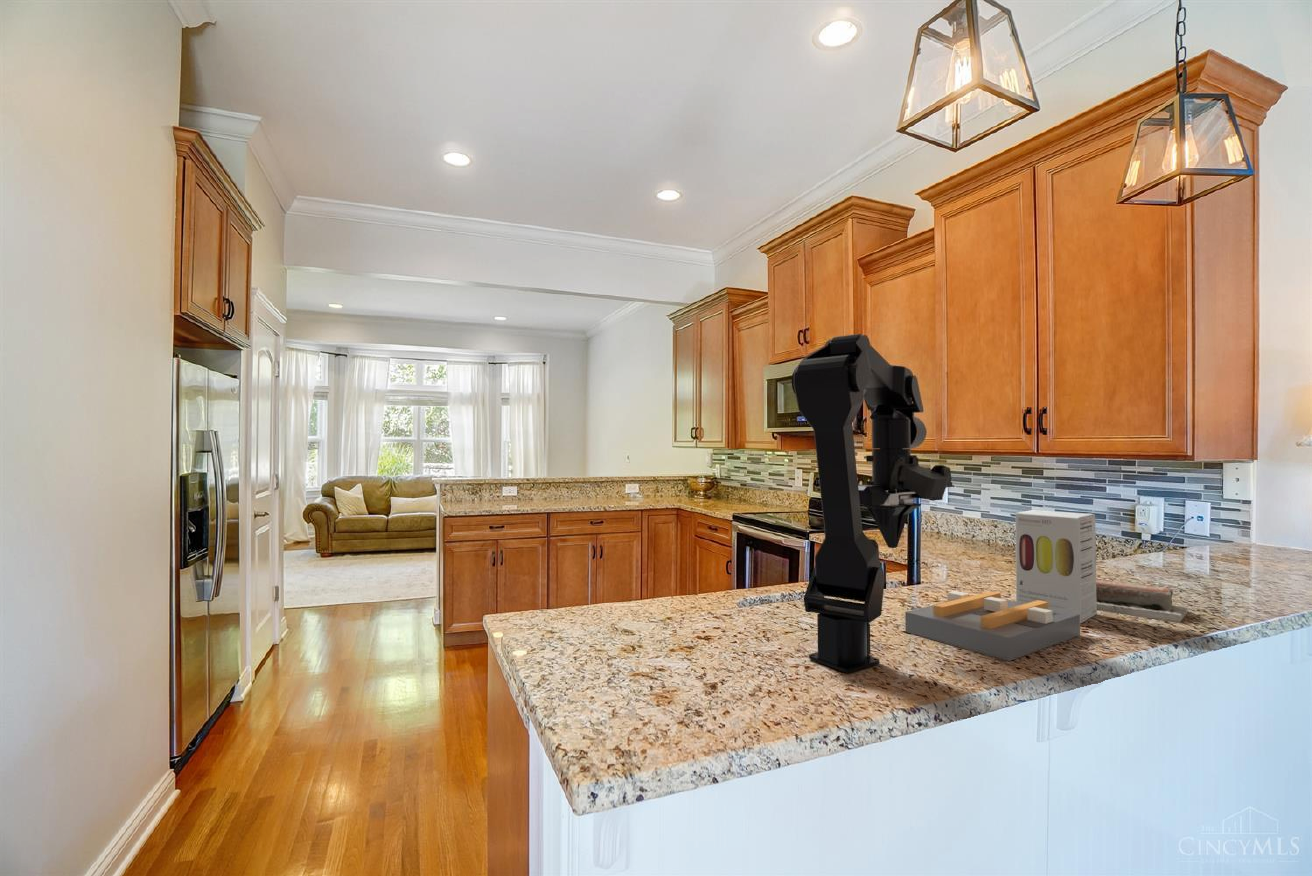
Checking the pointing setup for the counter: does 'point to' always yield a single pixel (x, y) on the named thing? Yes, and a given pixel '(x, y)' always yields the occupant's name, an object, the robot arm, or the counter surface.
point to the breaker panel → (994, 629)
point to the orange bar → (1010, 614)
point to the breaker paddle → (995, 604)
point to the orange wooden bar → (963, 604)
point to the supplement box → (1057, 560)
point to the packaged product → (1138, 600)
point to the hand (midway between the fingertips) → (892, 547)
